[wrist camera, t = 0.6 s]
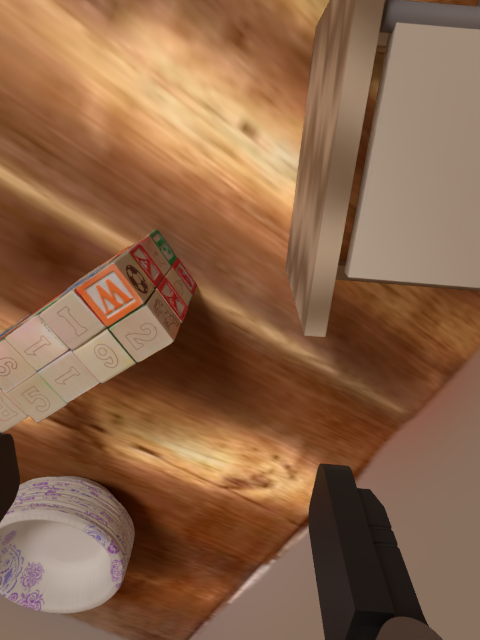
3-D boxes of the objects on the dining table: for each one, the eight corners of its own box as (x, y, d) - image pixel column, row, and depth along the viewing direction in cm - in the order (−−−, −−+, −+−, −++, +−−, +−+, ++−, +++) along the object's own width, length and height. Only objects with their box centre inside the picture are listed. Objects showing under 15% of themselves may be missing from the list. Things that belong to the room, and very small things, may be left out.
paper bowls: (168, 516, 48) (153, 581, 41) (80, 566, 52) (52, 633, 45) (77, 433, 44) (42, 489, 37) (-12, 494, 48) (-60, 556, 40)
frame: (315, 27, 29) (367, -71, 16) (563, 48, 29) (811, -33, 16) (285, 268, 36) (304, 335, 23) (485, 285, 36) (615, 360, 23)
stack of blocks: (31, 388, 42) (-51, 477, 31) (-14, 342, 40) (-119, 419, 29) (198, 284, 37) (175, 343, 26) (157, 225, 35) (112, 262, 24)
